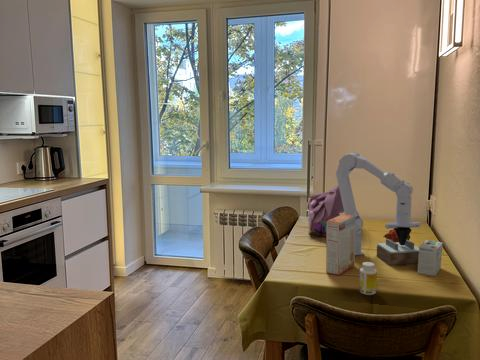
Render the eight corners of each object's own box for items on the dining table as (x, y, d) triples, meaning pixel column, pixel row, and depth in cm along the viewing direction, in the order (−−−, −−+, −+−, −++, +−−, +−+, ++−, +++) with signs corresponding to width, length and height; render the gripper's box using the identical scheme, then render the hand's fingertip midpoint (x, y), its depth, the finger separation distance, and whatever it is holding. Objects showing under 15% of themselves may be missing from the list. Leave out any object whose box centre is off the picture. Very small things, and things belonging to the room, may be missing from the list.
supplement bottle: (378, 292, 149) (380, 263, 148) (371, 297, 145) (372, 267, 144) (363, 287, 153) (364, 259, 151) (356, 292, 149) (357, 263, 147)
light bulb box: (423, 265, 175) (424, 239, 174) (441, 268, 172) (443, 242, 170) (417, 273, 167) (418, 246, 165) (435, 276, 163) (437, 249, 161)
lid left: (391, 253, 174) (391, 246, 173) (377, 244, 185) (377, 237, 185) (406, 252, 175) (407, 245, 174) (392, 243, 186) (392, 237, 186)
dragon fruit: (412, 249, 201) (385, 251, 204) (409, 235, 207) (383, 236, 210) (411, 238, 195) (383, 239, 199) (409, 223, 201) (382, 225, 205)
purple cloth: (348, 251, 210) (362, 196, 202) (300, 239, 214) (312, 185, 206) (347, 226, 243) (359, 178, 235) (305, 216, 247) (316, 169, 239)
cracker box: (341, 263, 179) (342, 213, 176) (354, 266, 175) (356, 215, 172) (324, 272, 168) (325, 220, 165) (339, 276, 164) (340, 222, 161)
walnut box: (390, 266, 174) (390, 254, 174) (376, 256, 186) (377, 245, 185) (422, 264, 176) (423, 252, 176) (407, 254, 188) (407, 243, 187)
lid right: (407, 252, 175) (407, 245, 174) (392, 243, 186) (393, 237, 186) (422, 251, 176) (423, 244, 175) (407, 243, 187) (407, 236, 187)
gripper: (391, 215, 173) (390, 248, 175) (425, 214, 175) (423, 246, 177) (383, 211, 180) (382, 243, 182) (415, 210, 182) (414, 241, 184)
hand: (402, 244), depth 180 cm, fingers closed
